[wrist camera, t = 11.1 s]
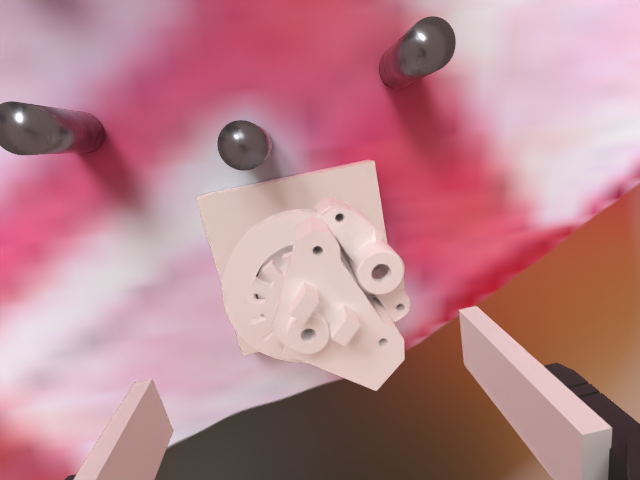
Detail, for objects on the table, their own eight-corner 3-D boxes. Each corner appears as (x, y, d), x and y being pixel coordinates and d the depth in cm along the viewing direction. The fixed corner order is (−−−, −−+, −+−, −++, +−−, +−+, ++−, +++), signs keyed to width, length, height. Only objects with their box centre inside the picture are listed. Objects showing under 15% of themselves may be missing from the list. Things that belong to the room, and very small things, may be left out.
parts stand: (203, 194, 30) (195, 198, 27) (367, 159, 30) (374, 160, 28) (245, 340, 33) (242, 355, 31) (391, 308, 34) (399, 320, 31)
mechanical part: (205, 250, 28) (149, 323, 17) (331, 164, 27) (360, 178, 16) (288, 351, 31) (286, 470, 20) (404, 276, 30) (472, 356, 19)
